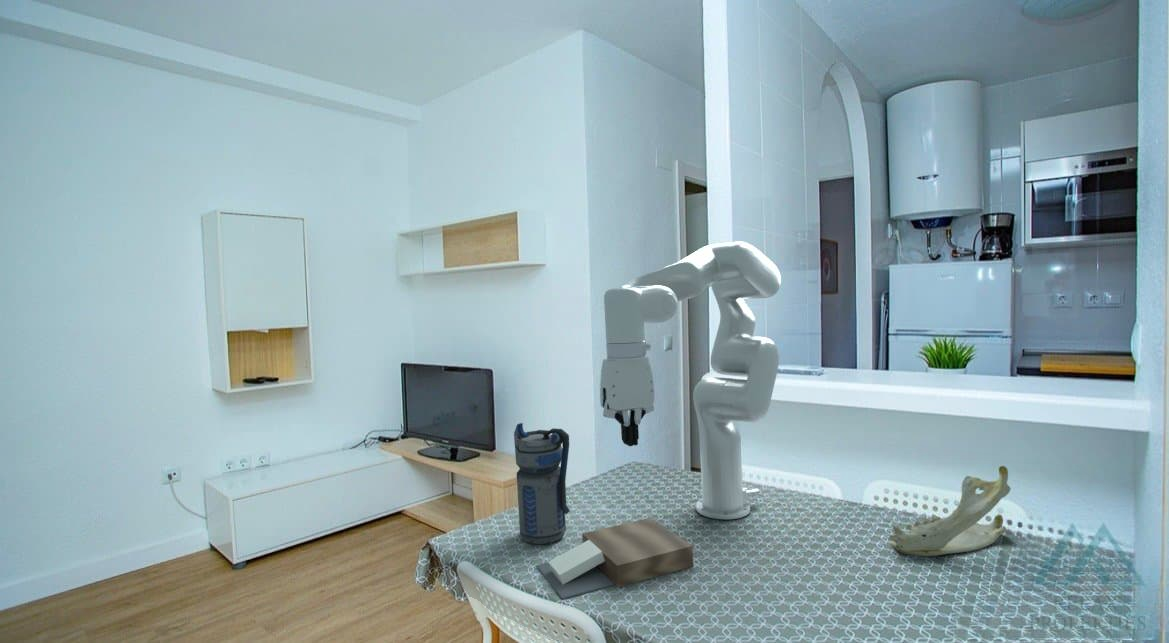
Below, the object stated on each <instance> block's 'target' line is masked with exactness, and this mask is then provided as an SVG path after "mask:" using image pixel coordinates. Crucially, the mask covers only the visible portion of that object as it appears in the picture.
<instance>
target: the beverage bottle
mask: <svg viewBox="0 0 1169 643" xmlns="http://www.w3.org/2000/svg"><path fill="white" fill-rule="evenodd" d="M523 424H524V423H523V422H520V423H517V424H516V426H515V430H514V433H513V438H514V439H513V440H514V454H515V464H516V466H517V467H518V468H519V470H518V471H516V487H517V488H516V489H517V506H518V508H517V509H518V521H519V522H518V523H519V525H518V526H519V535H520V536H521V538H522V540H524V541H525V542H526V543H530V544H534V545H545V544H546V543H547V544H551V543H554V542H557V541H559V540H560V539H562V538H563V537H564V535H565V532H566V530H567V526H566V522H567V521H566V515H567V514H568V513H570V511H571V510H570V509H569V507H568V506H567V489H566V487H567V486H566V481H567V480H566V478H567V469H568V461H569V450H570V435H569V434H568V433H567V432H566V431H565V430H564V429H562V428H554V427H553V428H551V429H550V430H545V429H537V430H532V431H525V430H524V426H523ZM547 544H546V545H547Z"/></svg>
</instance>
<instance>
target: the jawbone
mask: <svg viewBox="0 0 1169 643" xmlns="http://www.w3.org/2000/svg"><path fill="white" fill-rule="evenodd" d="M998 474H999V476H998V479H997V480H995V481H993V480H991V481H990V480H989V481H988V480H984V479H981V478H979V477H977V476H975V477H974V476H971V475H966V476H965V477H964V478H963V480H962V482H961V497H960V501H959V503H958V505H957V507H956V508H955V509H954V511H953V512H952V513H951V514H949V515H948V516H946V517H945V518H941V516H937V515H936V514H931V520H930V519H928V518H927V517H926V516H923V517H922V522H920V521H919V520H917V519H915V520H914V523H913V525H914V526H915V527H913V525H912V524H910V523H906V524H905V526H906V527H905V528H906V529H908V530H909V531H906V530H903V529H902V528H900V527H899V526H898V525H897V524H896V523H895V522H894V521H892V524H891V526H892V530H893V532H894V535H893V534H889V535H888V536H889V538H888V541H889V542H888V545H889V546H890V547H891V548H894V549H895V550H897V551H899V552H900V553H902V554H905V555H911V556H917V557H937V556H943V555H948V554H957V553H966V552H972V551H977V550H980V549H983V548H986V547H989V546H990V545H992V544H994V543H995V542H996V540H997V539H998V538H999V537H1000V536H1001V535H1003V534H1004V533H1005V532H1006V531H1007V527H1006V525H1004V526H1003V524H1004V517H1003V515H1001V514H1000V513H998V514H995V516H994V518H993V521H992V522H990V523H988V524H984V523H983V524H982V523H979V521H981V519H982V518H984V517H985V516H987V514H989V512H991V511H992V510H993V509H994V508H995V507H996V506H997V505H998V503H999V502H1000V501H1001V500H1002V499H1003V498H1005V497H1007V495H1008V494H1009V493H1010V492H1011V486H1009V484H1008V480H1009V470H1008V467H1006V466H1004V465H1000V466H999V467H998ZM977 489H979V490H978V491H981V493H977V491H976V490H977ZM977 522H978V523H977Z"/></svg>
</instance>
